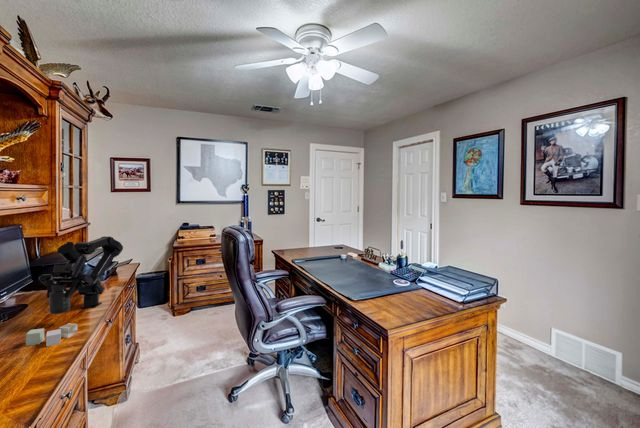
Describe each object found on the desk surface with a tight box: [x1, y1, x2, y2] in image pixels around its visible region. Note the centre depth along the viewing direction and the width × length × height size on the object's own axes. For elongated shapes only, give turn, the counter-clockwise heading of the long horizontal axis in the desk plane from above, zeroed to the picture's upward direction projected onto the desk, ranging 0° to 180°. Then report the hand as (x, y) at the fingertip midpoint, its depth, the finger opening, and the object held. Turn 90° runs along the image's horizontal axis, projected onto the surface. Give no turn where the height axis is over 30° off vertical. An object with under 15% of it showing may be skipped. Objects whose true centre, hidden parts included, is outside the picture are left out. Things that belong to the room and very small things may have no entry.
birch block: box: [58, 322, 78, 339], centre depth 119 cm, size 4×4×4 cm
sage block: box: [25, 327, 45, 347], centre depth 112 cm, size 4×4×4 cm
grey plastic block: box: [45, 328, 62, 347], centre depth 113 cm, size 5×4×4 cm
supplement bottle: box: [48, 282, 71, 315], centre depth 128 cm, size 7×7×12 cm
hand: (57, 297), depth 126 cm, fingers closed on supplement bottle, 7 cm apart
